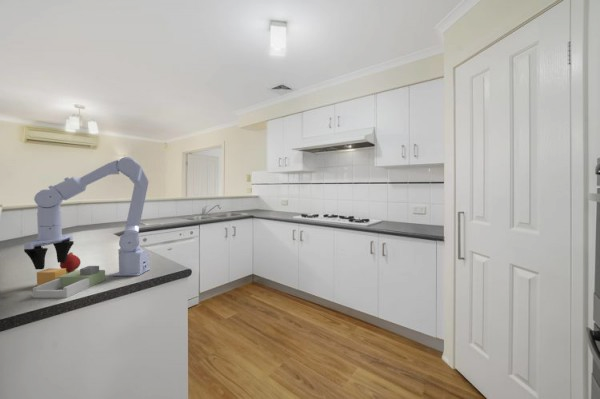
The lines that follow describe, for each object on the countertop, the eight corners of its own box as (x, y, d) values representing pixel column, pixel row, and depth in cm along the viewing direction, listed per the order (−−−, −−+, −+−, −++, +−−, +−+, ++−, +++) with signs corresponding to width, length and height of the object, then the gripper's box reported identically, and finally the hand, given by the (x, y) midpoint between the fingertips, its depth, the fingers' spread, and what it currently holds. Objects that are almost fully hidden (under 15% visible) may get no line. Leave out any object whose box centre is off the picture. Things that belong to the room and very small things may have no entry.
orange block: (66, 282, 88) (66, 268, 87) (55, 287, 84) (54, 272, 83) (49, 282, 87) (48, 268, 87) (37, 287, 83) (36, 272, 83)
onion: (68, 275, 94) (67, 254, 94) (56, 274, 95) (55, 254, 95) (84, 271, 100) (83, 251, 99) (72, 270, 101) (72, 250, 101)
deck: (105, 279, 90) (104, 264, 90) (67, 297, 75) (66, 279, 75) (77, 279, 90) (76, 264, 90) (33, 297, 75) (32, 279, 75)
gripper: (58, 222, 92) (59, 259, 92) (13, 228, 77) (15, 272, 78) (77, 222, 92) (78, 259, 92) (36, 228, 77) (38, 272, 78)
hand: (51, 265), depth 85 cm, fingers open, 7 cm apart
